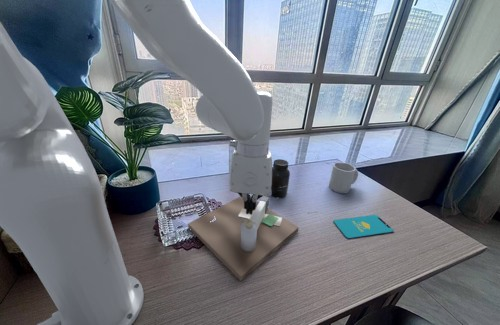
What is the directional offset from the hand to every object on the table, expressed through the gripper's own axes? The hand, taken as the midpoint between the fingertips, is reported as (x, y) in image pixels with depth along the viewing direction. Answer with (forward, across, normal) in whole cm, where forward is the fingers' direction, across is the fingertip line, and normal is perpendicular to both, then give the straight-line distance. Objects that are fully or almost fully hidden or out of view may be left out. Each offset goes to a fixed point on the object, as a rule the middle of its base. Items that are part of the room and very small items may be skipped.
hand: (249, 210), depth 56 cm
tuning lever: (+4, +2, -3) cm, 5 cm away
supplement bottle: (+6, +7, +18) cm, 20 cm away
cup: (+6, +31, +26) cm, 41 cm away
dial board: (+5, -1, -2) cm, 6 cm away
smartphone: (+6, +32, +6) cm, 33 cm away
